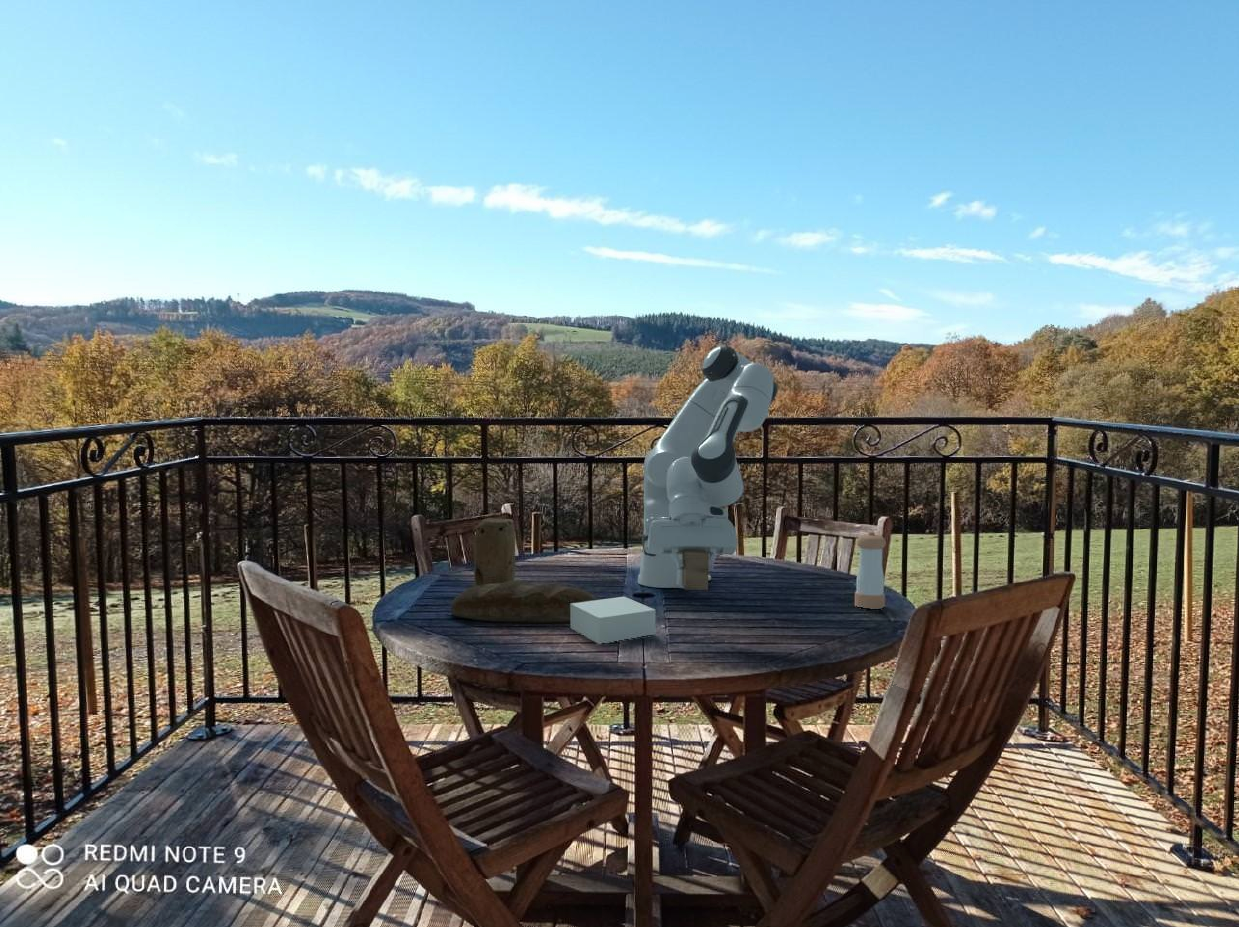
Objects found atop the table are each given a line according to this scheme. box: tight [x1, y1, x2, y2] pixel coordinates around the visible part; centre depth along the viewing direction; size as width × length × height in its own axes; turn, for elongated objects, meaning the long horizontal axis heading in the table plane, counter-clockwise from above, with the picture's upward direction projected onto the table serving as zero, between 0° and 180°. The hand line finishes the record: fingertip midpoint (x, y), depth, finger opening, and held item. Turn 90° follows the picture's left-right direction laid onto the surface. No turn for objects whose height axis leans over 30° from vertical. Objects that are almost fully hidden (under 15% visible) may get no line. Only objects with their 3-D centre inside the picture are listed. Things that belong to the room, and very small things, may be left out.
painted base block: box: [569, 596, 656, 645], centre depth 176 cm, size 14×14×6 cm
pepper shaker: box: [854, 530, 887, 609], centre depth 198 cm, size 7×7×19 cm
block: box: [473, 517, 516, 587], centre depth 212 cm, size 11×8×20 cm
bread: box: [450, 580, 599, 624], centre depth 189 cm, size 16×36×8 cm, turn 86°
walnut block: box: [682, 549, 710, 591], centre depth 174 cm, size 5×5×8 cm
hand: (695, 568), depth 173 cm, fingers closed on walnut block, 5 cm apart
